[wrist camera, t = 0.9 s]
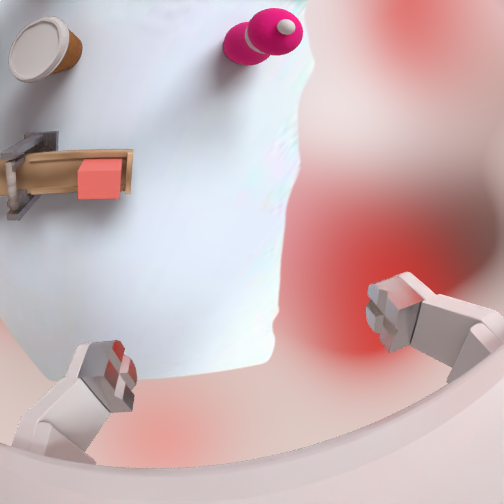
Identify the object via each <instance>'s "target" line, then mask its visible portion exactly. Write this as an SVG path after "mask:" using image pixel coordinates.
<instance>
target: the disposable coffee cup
mask: <svg viewBox="0 0 504 504" xmlns="http://www.w3.org/2000/svg"><path fill="white" fill-rule="evenodd" d="M81 54H82V43H81V41H80V40H79V39H78V38H77V37H76V36H75V35H74V34H73V33H72V32H71V31H70V30H69V29H68V27H67V25H66V23H65V22H64V21H63V20H61V19H60V18H58V17H54V16H47V17H43V18H40V19H38V20H35V21H33V22H31V23H30V24H28V25H27V26H26V27H25V28H24V29H22V31H21V32H20V33H19V34H18V35H17V37H16V38H15V40H14V42H13V44H12V46H11V49H10V53H9V67H10V70H11V72H12V74H13V75H14V76H15V77H16V78H17V79H18V80H20V81H22V82H25V83H32V82H36V81H39V80H41V79H43V78H45V77H46V76H48V75H51V74H54V73H57V72H61V71H65V70H68V69H70V68H71V67H73V66H74V65H75V64H76V63H77V61H78V60H79V58H80V56H81Z"/></svg>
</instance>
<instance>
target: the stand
mask: <svg viewBox="0 0 504 504" xmlns="http://www.w3.org/2000/svg"><path fill="white" fill-rule="evenodd" d="M53 151H58V131H49V132H35V133H26V134H24V140H23V141H21V142H19V143H17V144H16V145H14V146H12V147H10V148H9V149H7V150H5V151H3V152H2V153H0V159H1V160H11V159H14V158H16V157H17V156H19V155H20V154H22V153H23V152H24V154H30V153H40V152H53ZM41 195H42V194H34V195H31V193H28V194H27V195H26V196H25V197H24V199H23V200H22V202H21V203H20V204H19V208H18V209H16V210H10V211H9V212H8V213H7V219H8V220H20V219H21V218H22V216H23V215H24V214H25V213H26V212H27V211H28V209H29V208H30V207H31V206H32V205H33V204H34V202H35V201H36V200H37V199H38V198H39V197H40V196H41Z"/></svg>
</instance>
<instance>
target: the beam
mask: <svg viewBox="0 0 504 504" xmlns="http://www.w3.org/2000/svg"><path fill="white" fill-rule="evenodd" d="M91 158H122V171H121V187H120V191H125V194H130V191H131V174H132V161H133V149H93V150H68V151H53V152H40V153H30V154H21V155H19V156H17V157H16V158H14V159H11V160H1V159H0V196H6V195H8V197H9V200H8V202H7V205H8V207H10V210H16V209H18V208H19V204H20V203H21V202H22V200H23V199H24V197H25V196H26V195H27V194H28V193H31V195H34V194H49V193H67V192H78V170H79V168H80V166H81V164H82V162H83V161H84V159H91Z"/></svg>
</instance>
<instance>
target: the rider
mask: <svg viewBox="0 0 504 504" xmlns="http://www.w3.org/2000/svg"><path fill="white" fill-rule="evenodd" d="M121 171H122V158H91V159H84V161H83V162H82V164H81V166H80V168H79V170H78V200H79V199H115V198H120V187H121Z"/></svg>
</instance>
